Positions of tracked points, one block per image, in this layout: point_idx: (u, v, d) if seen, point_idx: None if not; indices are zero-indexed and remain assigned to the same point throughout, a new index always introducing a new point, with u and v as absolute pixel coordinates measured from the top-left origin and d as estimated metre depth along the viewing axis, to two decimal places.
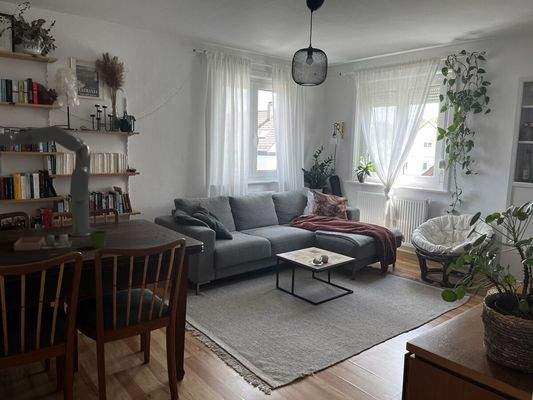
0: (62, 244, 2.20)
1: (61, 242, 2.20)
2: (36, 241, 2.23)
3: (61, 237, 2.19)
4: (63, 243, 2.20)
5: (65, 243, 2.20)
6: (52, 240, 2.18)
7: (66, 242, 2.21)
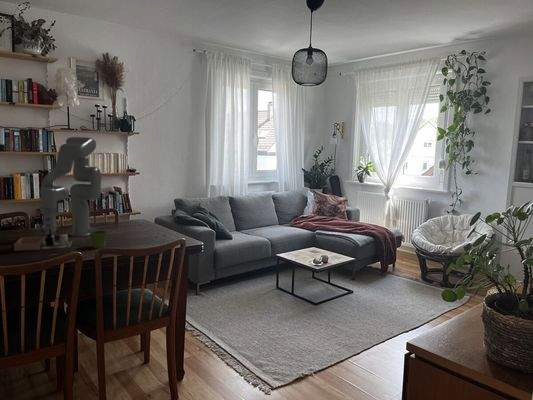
0: (62, 244, 2.20)
1: (61, 242, 2.20)
2: (36, 241, 2.23)
3: (61, 237, 2.19)
4: (63, 243, 2.20)
5: (65, 243, 2.20)
6: None
7: (66, 242, 2.21)
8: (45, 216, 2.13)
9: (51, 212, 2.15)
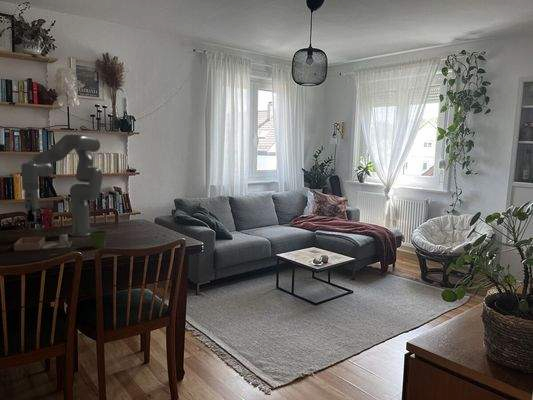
0: (62, 244, 2.20)
1: (61, 242, 2.20)
2: (36, 241, 2.23)
3: (61, 237, 2.19)
4: (63, 243, 2.20)
5: (65, 243, 2.20)
6: None
7: (66, 242, 2.21)
8: (26, 192, 2.08)
9: (32, 188, 2.09)
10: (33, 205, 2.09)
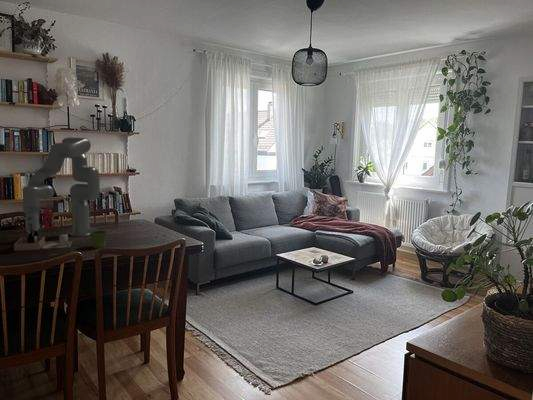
0: (62, 244, 2.20)
1: (61, 242, 2.20)
2: None
3: (61, 237, 2.19)
4: (63, 243, 2.20)
5: (65, 243, 2.20)
6: (35, 241, 2.15)
7: (66, 242, 2.21)
8: (27, 215, 2.09)
9: (33, 211, 2.11)
10: (34, 228, 2.10)
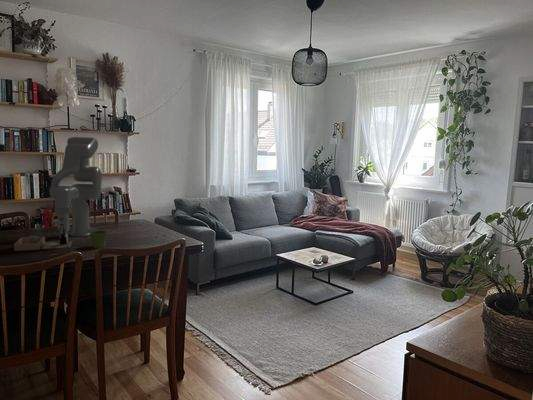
0: (62, 244, 2.20)
1: None
2: None
3: None
4: None
5: None
6: (35, 241, 2.15)
7: None
8: (59, 216, 2.15)
9: (65, 212, 2.17)
10: (66, 228, 2.16)
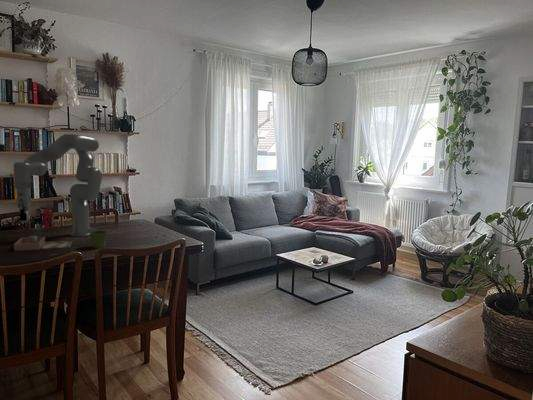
0: None
1: None
2: None
3: None
4: None
5: None
6: (35, 241, 2.15)
7: None
8: (18, 191, 2.08)
9: (24, 187, 2.10)
10: (25, 204, 2.09)
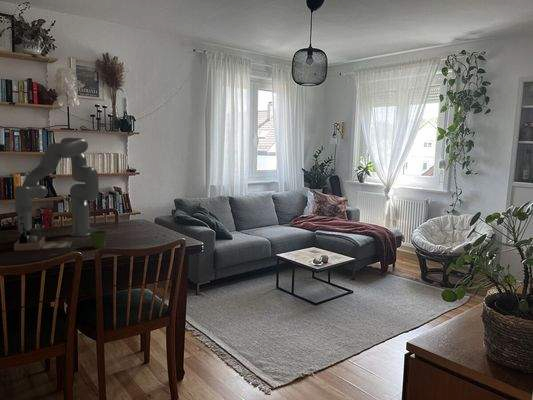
0: None
1: None
2: None
3: None
4: None
5: None
6: (35, 241, 2.15)
7: None
8: (19, 214, 2.10)
9: (25, 210, 2.11)
10: (26, 228, 2.11)
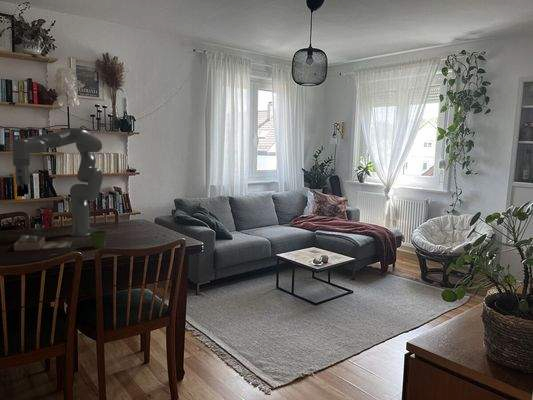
0: None
1: (22, 243, 2.14)
2: None
3: (22, 238, 2.14)
4: None
5: None
6: (35, 241, 2.15)
7: None
8: (17, 167, 2.07)
9: (23, 164, 2.08)
10: (24, 181, 2.08)
